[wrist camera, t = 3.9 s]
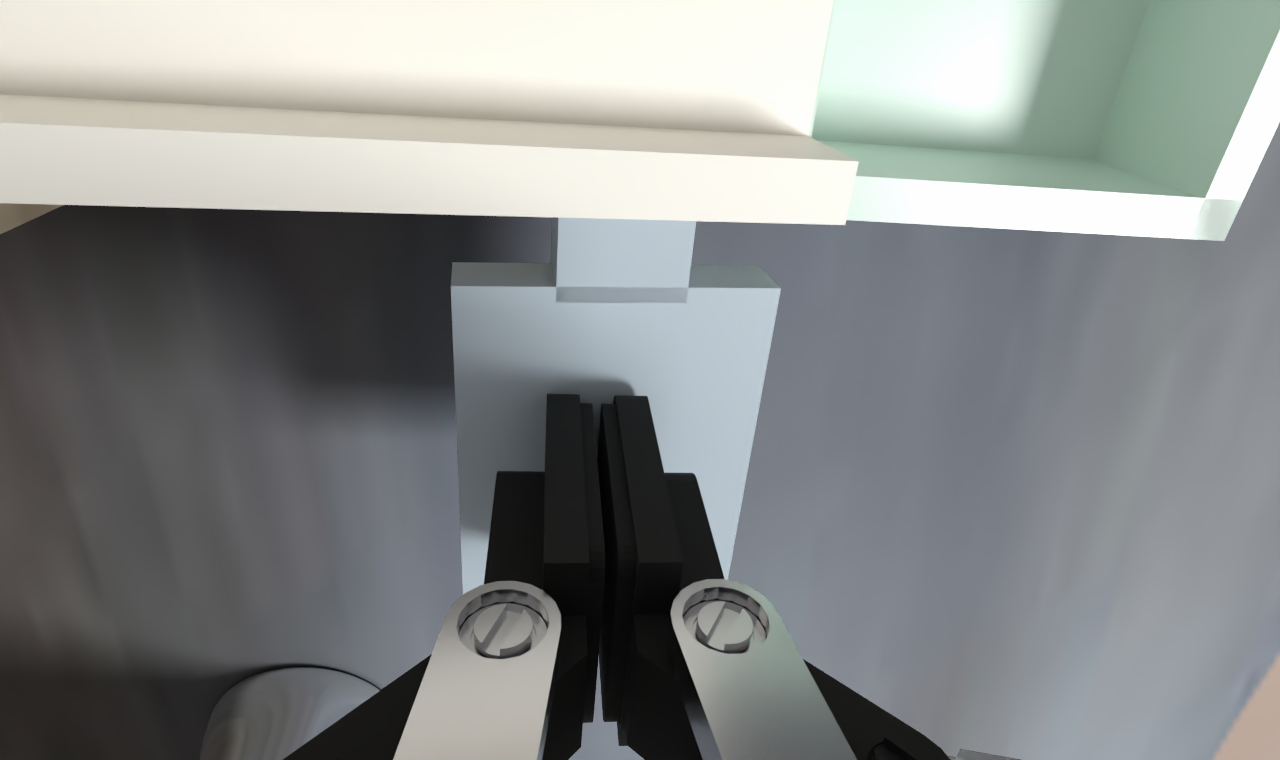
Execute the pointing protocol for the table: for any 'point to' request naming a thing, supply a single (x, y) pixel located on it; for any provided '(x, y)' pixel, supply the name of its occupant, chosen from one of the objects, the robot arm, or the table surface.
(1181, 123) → the tray
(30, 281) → the table surface
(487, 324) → the lever
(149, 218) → the table surface
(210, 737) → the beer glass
